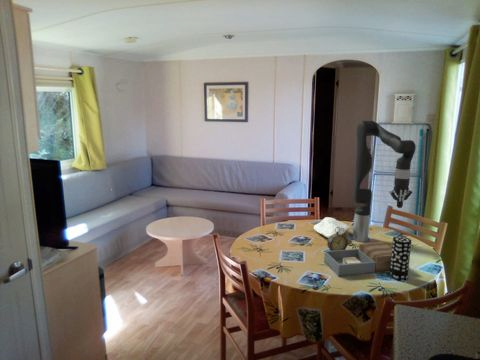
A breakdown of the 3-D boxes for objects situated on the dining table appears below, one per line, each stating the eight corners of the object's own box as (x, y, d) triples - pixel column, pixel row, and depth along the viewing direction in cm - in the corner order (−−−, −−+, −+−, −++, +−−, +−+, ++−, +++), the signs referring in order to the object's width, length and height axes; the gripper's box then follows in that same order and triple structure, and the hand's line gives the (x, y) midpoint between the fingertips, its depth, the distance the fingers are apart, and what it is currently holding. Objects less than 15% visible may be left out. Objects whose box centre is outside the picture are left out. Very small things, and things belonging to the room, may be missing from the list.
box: (324, 261, 200) (324, 251, 199) (357, 258, 204) (358, 248, 202) (338, 276, 183) (339, 265, 181) (374, 273, 186) (375, 262, 185)
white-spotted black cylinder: (402, 273, 186) (406, 236, 182) (410, 280, 178) (414, 242, 174) (386, 273, 186) (390, 236, 182) (394, 281, 178) (397, 242, 174)
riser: (358, 258, 204) (359, 243, 202) (381, 256, 206) (382, 241, 204) (375, 273, 186) (377, 256, 184) (400, 270, 189) (401, 254, 187)
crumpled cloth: (345, 224, 257) (344, 212, 255) (357, 242, 223) (355, 228, 221) (312, 228, 260) (310, 216, 258) (318, 246, 226) (317, 233, 224)
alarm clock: (330, 256, 207) (331, 229, 203) (325, 252, 212) (326, 226, 208) (347, 254, 210) (348, 227, 206) (342, 250, 215) (343, 224, 211)
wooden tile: (355, 257, 197) (354, 262, 197) (342, 257, 196) (342, 263, 196) (361, 262, 190) (360, 267, 191) (348, 263, 189) (348, 268, 190)
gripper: (408, 175, 202) (405, 205, 205) (387, 176, 199) (384, 206, 203) (417, 177, 194) (414, 208, 198) (395, 178, 192) (392, 210, 196)
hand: (399, 207), depth 201 cm, fingers closed
